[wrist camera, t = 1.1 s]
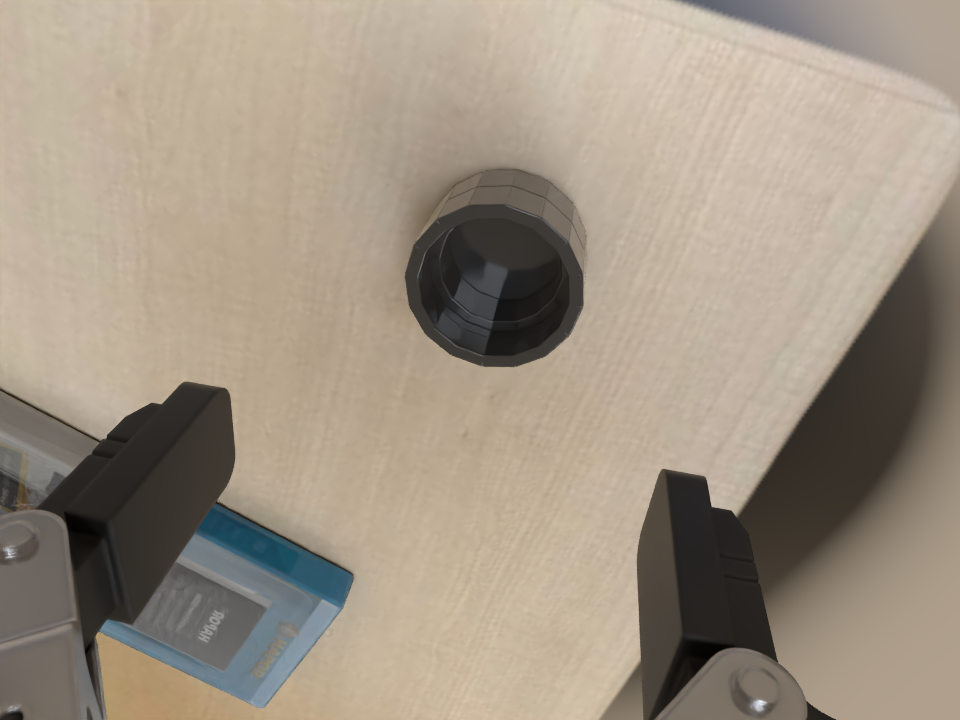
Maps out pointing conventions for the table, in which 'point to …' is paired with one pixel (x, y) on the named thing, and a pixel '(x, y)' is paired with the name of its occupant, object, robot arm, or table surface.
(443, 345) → the black cup
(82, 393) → the table surface
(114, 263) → the table surface
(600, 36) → the table surface
